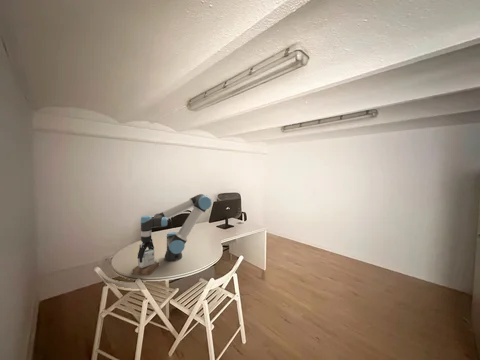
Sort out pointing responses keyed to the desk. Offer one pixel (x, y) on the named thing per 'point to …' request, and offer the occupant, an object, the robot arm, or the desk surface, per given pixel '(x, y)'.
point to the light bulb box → (147, 258)
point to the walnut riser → (145, 269)
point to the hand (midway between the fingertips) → (146, 262)
